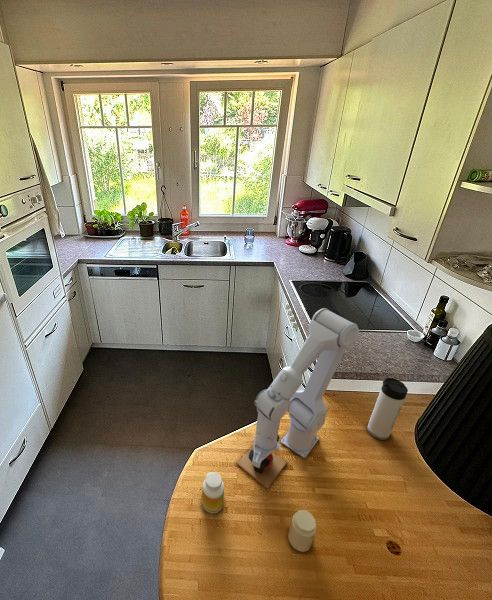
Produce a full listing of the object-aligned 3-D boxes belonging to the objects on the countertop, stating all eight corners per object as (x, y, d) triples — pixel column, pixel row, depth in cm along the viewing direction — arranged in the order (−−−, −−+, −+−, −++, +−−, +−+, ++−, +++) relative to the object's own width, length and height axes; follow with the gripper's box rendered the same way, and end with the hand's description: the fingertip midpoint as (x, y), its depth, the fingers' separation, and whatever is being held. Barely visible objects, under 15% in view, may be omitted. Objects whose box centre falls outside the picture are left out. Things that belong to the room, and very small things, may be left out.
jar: (294, 521, 79) (299, 503, 75) (315, 538, 75) (321, 519, 72) (284, 539, 75) (288, 520, 72) (304, 557, 72) (311, 538, 68)
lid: (247, 457, 92) (248, 452, 92) (263, 448, 95) (263, 444, 94) (261, 473, 88) (261, 469, 87) (276, 464, 91) (277, 459, 90)
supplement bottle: (221, 516, 80) (223, 492, 75) (200, 511, 81) (200, 487, 76) (224, 494, 84) (226, 471, 80) (203, 490, 85) (204, 467, 81)
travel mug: (363, 422, 105) (379, 375, 96) (384, 424, 104) (403, 377, 95) (369, 438, 100) (388, 390, 90) (392, 441, 99) (413, 392, 89)
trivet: (257, 442, 98) (257, 441, 98) (286, 463, 92) (286, 462, 92) (237, 464, 92) (237, 463, 92) (267, 488, 86) (267, 487, 86)
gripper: (273, 457, 78) (267, 491, 84) (289, 416, 89) (283, 449, 96) (246, 445, 81) (242, 478, 88) (265, 407, 92) (260, 439, 99)
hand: (262, 462), depth 92 cm, fingers closed on lid, 6 cm apart
